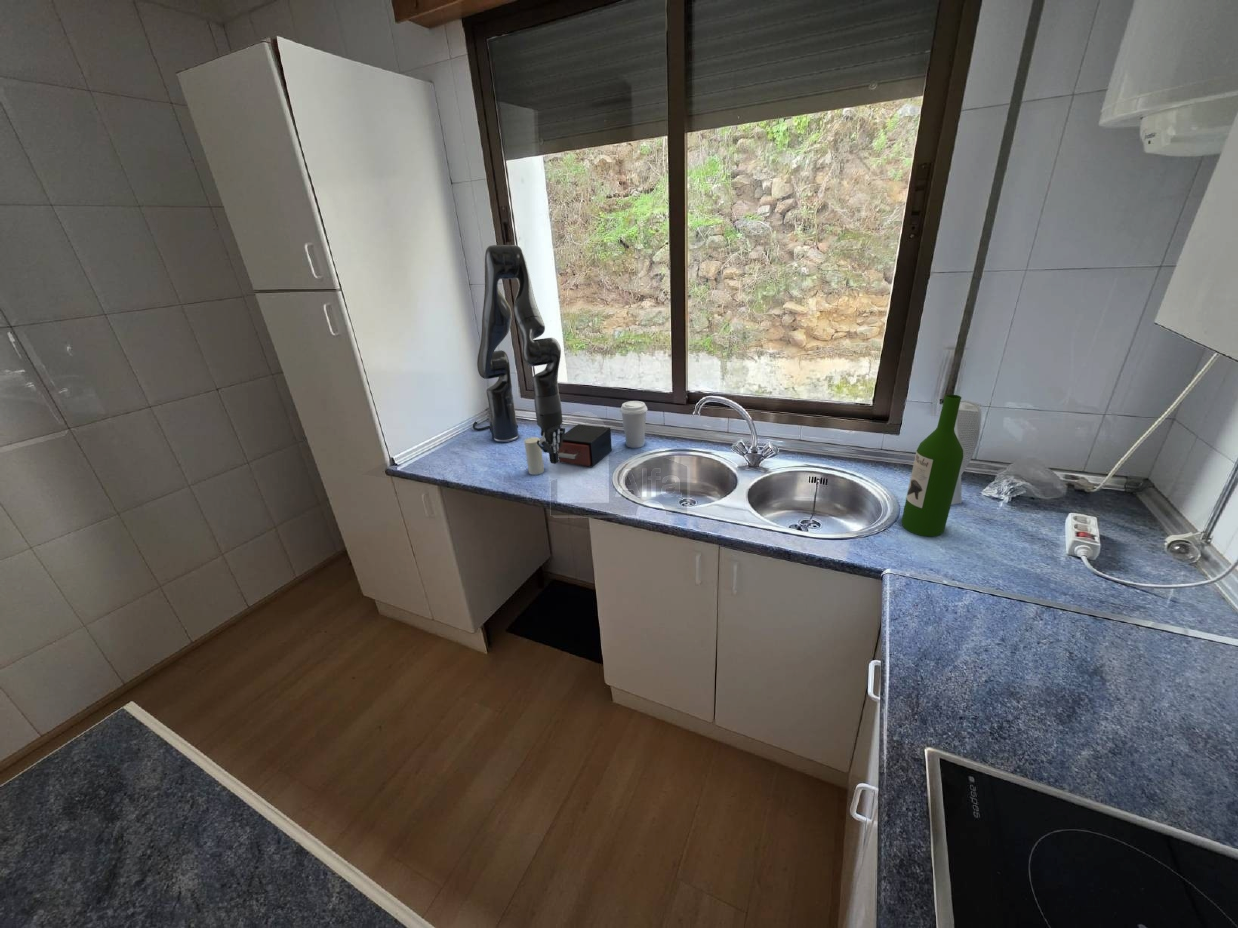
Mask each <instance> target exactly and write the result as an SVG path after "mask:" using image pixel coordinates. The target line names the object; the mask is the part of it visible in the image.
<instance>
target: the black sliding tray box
mask: <svg viewBox="0 0 1238 928" xmlns="http://www.w3.org/2000/svg"><path fill="white" fill-rule="evenodd" d="M611 433H612V432H611V427H607V426H599V425H590V424H581V423H580V424H579V423H578V424H576V425H575V426H573V427H572V428H571V429H569V430H568V431H565V434H564V438H563V442H571V443H579V444H586V445H589V448H590V460H591V465H590V466H587V465H580V464H573V463H566V462H560V463H561V464H562V463H563V464H568V465H576V466H583V467H589V468H593V467H595V466H596V465H597V464H598V463H600V461H602V460H603V459H605V457H606V456H608V455H609V454H610V453H611V452H612V450H613V447H612V434H611Z"/></svg>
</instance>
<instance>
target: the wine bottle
mask: <svg viewBox="0 0 1238 928" xmlns="http://www.w3.org/2000/svg"><path fill="white" fill-rule="evenodd" d="M961 399H962V396H960V395H958V394H945V395H944V399H943V402H942V407H941V411H940V415H939V418H938V422H937V427H936V428H935V429H934V430H933V431H932V432H931V433H930V434H929V435H928V436H927V437H925V438H924V439H923V440H922V441H921V442H920V443H919V445H918V447H917V449H916V452H915V457H914V460H913V465H912V470H911V474H910V479H909V484H908V488H907V494H906V497H905V502H904V507H903V511H902V517H901V520H900V521H901V526H902V527H903V528H904V529H905V530H906V531H907V532H909V533H911V534H914V535H917V536H922V537H929V538H931V537H932V538H933V537H939V536H941V535H942V534H943V533H944V532H945V529H946V525H947V522H948V518H949V514H950V510H951V506H952V505H951V503H952V499H953V495H954V491H955V487H956V483H957V480H958V476H959V472H960V468H961V464H962V460H963V449H962V447H961V445H960V442H959V440H958V438H957V436H956V434H955V431H954V428H955V423H956V419H957V414H958V410H959V405H960V404H961V402H960V401H961Z"/></svg>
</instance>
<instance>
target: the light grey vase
mask: <svg viewBox="0 0 1238 928" xmlns="http://www.w3.org/2000/svg"><path fill="white" fill-rule="evenodd" d="M981 407H982V405H981V403H979V402H977V401H971V400H966V399H962V398H961V401H960V405H959V410H958V414H957V419H956V423H955V428H954V431H955V434H956V436H957V438H958V440H959V442H960V445H961V447H962V449H963V460H962V464H961V468H960V472H959V476H958V480H957V483H956V487H955V491H954V495H953V499H952V503H951V506H953V505H957V504H962V500H963V499H962V475H963V474H964V471H965V470H966V469H967V467H968V466H969V464H970V462H971V461H972V459H973V456H974V454H975V453H976V449H977V447H978V443H979V440H980V435H981V426H982V425H981V424H982V410H981Z"/></svg>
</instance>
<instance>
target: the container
mask: <svg viewBox="0 0 1238 928" xmlns="http://www.w3.org/2000/svg"><path fill="white" fill-rule="evenodd" d="M540 439H541V437H537V436H531V437H527V438H525V439H524V440H523V442H524V449H525V456H526V464H527V470H528V474H530V475H532V476H535V475H536V476H537V475H541V474H543V473H544V472H545V466H544V458H543V450H542V449H541V448H540V447H539V446H538V445H537V441H538V440H539V441H540Z"/></svg>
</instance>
